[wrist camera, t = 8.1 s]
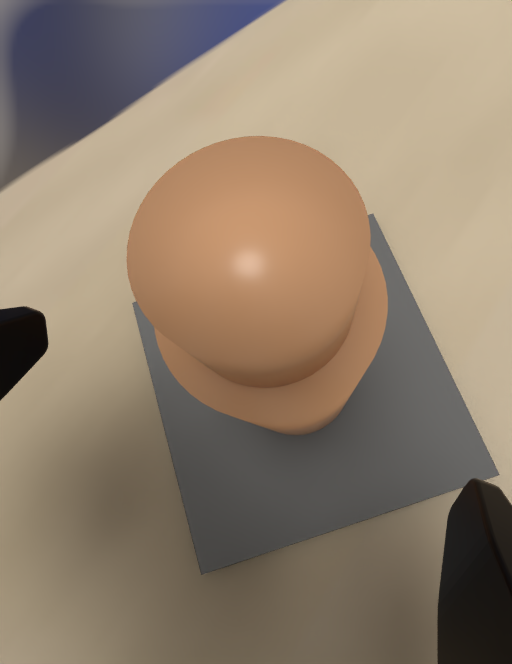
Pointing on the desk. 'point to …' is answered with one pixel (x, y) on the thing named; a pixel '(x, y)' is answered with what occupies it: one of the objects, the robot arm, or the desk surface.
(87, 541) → the desk surface
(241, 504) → the mat
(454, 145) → the desk surface
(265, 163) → the peach capped bottle
